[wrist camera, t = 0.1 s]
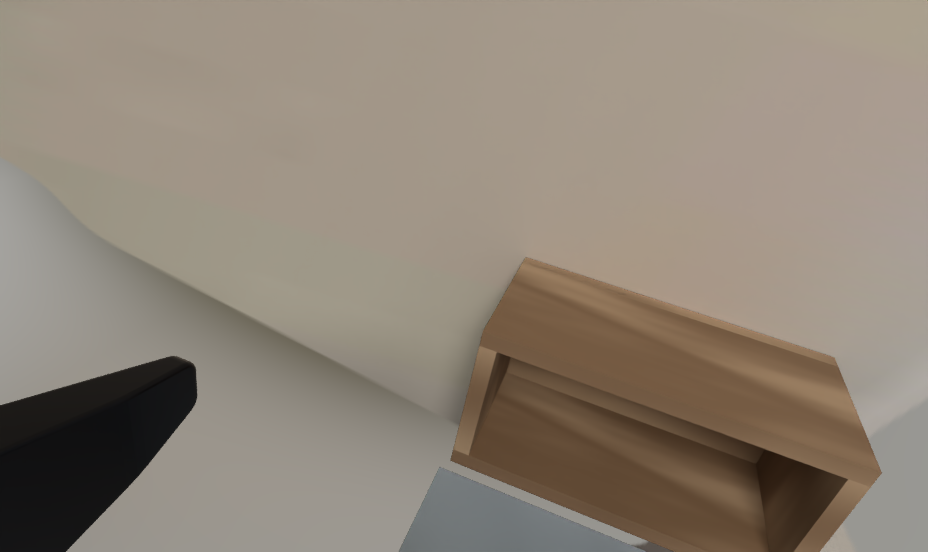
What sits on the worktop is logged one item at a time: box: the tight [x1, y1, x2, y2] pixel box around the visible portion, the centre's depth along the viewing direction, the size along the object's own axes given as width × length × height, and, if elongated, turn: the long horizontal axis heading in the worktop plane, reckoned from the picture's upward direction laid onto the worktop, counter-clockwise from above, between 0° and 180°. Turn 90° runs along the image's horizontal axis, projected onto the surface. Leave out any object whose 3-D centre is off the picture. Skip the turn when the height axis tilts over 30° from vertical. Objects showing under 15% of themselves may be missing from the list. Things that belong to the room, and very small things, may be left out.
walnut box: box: [451, 258, 882, 552], centre depth 22 cm, size 6×12×6 cm, turn 78°
